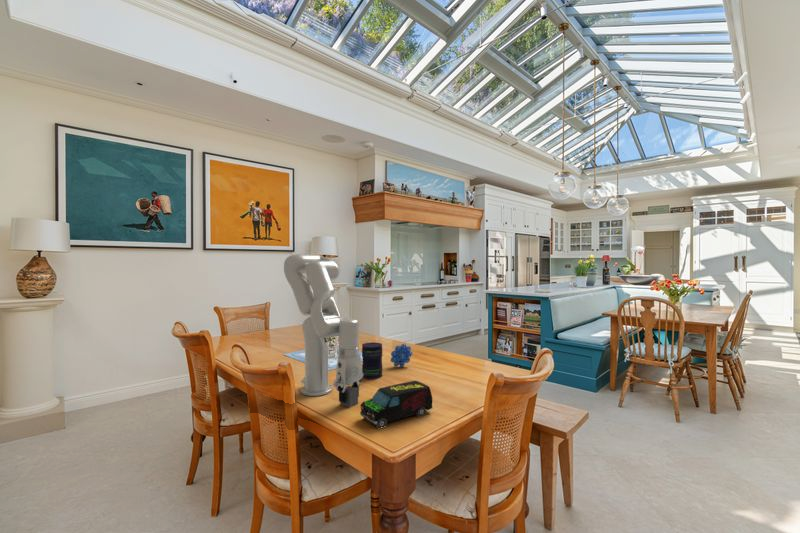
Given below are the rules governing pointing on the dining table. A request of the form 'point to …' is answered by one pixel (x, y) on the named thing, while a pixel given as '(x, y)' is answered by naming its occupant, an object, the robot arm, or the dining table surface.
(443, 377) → the dining table surface
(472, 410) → the dining table surface
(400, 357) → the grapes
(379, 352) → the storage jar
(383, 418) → the toy van
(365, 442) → the dining table surface
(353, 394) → the grey block
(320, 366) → the robot arm
